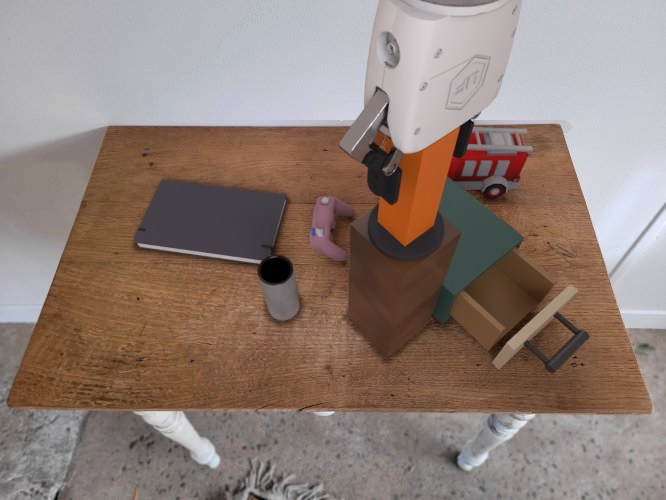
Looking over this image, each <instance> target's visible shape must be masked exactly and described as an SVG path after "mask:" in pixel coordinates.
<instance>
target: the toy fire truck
mask: <svg viewBox="0 0 666 500" xmlns="http://www.w3.org/2000/svg"><path fill="white" fill-rule="evenodd" d="M521 135H528V129H527V128H514V127H513V128H511V127H479V126H474V127H473V130H472V133H471V137H470V140H469V143H468V147H467V150H466V153H465V155H464V156H463V157H461V158H455V157H454V156H453V155H452V159H451V163H450V167H449V170H448V174H447V177H449V178H450V179H451V180H453V181H454V182H455V183H456V184H458V185H459V186H460V187H461V188H463V189H464V190H465V191H471V190H472V191H475V190H477V191H479V190H480V192H481V193H483V196H484V197H485V198H486V199H490V200H491V199H492V200H496V199H498V198H502V196H503V195H504V194H506V193H508V192H509V190H519V188H520V186H521V183H520V180H521V176H520V175H521V174H522V173H521V172H522V171H523V168H524V166H525V165H526V163H527V162H526V161H527V159H528V155H527V152H531V153H532V152H533V151H534V148H533V146H532V145H524V143H523V138H522V136H521Z"/></svg>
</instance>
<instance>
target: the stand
mask: <svg viewBox="0 0 666 500" xmlns="http://www.w3.org/2000/svg"><path fill="white" fill-rule="evenodd" d="M373 209H374V207H373V208H371V209H370V210H367V212H366V213H363V215H361V216H360V217H358V218H357V219H354V220H353V221H352V222H351V223H350V224H349V252H348V253H349V254H348V299H347V300H348V302H347V304H348V305H347V307H348V308H347V317H348V318H349V319H350V321H352V322H353V323H354V325H355V326H357V328H358V329H359V330H360V331H361V332H362V333H363V334H364V335H365V337H366V338H368V340H369V341H370V342H371V343H372V344H373V345H374V347H375V348H377V350H379V352H380V353H381V354H382V355H383V356H384V357H385V358H386V359H388V358H389V357H390V356H392V354H394V353H395V352H396V351H397V350H399V349H400V348H401V347H402V346H404V345H405V344H406V343H407V342H408V341H410V340H411V339H412V338H413V337H415V336H416V335H417V334H418V333H419V332H420V331H422V330H423V329H424V328H425V327H427V326H428V325H429V324H430V323H431V320H432V316H433V315H432V314H433V311H434V308H435V305H436V303H437V300H438V297H439V294H440V292H441V289H442V286H443V283H444V281H445V278H446V275H447V272H448V269H449V267H450V264H451V261H452V258H453V256H454V253H455V250H456V247H457V244H458V242H459V239H460V236H461V233H462V232H461V231H460V230H459V229H458V228H457V227H456V226H454V225H453V224H452V223H451V222H450V221H448V220H447V219H446V218H445V217H444V216H442V215H441V216H442V218H443V221H444V235H443V238H442V241H441V243H440V244H439V246H438V247H437V248H436V249H435V250H434V251H433V252H432V253H430V254H428V255H426V256H424V257H421V258H417V259H399V258H395V257H392V256H390V255H388V254H386V253H384V252H383V251H381V250H380V249H379V248H378V247H377V246H376V245H375V244H374V243H373V241H372V240H371V238H370V235H369V231H368V221H369V216H370V214H371V212H372V210H373Z"/></svg>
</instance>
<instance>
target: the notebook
mask: <svg viewBox="0 0 666 500" xmlns="http://www.w3.org/2000/svg"><path fill="white" fill-rule="evenodd" d="M287 203H288V196H287V194H283V193H276V192H267V191H260V190H251V189H244V188H243V189H242V188H235V187H229V186H228V187H227V186H219V185H210V184H203V183H195V182H187V181H181V180H180V181H179V180H172V179H163V178H162V179H160V182H159V184H158V186H157V188H156V191H155V192H154V193H153V196H152V199H151V201H150V203H149V205H148V207H147V208H146V212H145V213H144V215H143V217H142V220H141V222H140V224H139V226H138V227H137V230H136V232H135V235H134V237H133V242H134V243H136V246H137V248H140V249H145V250H152V251H158V252H164V253H165V252H166V253H173V254H180V255H188V256H193V257H194V256H195V257H202V258H210V259H215V260H223V261H228V262H229V261H231V262H236V263H246V264H252V265H257V266H259V264H260V262H261V261H262V260H263V259H264V258H266V257H268V256H270V255H273V253H274V249H275V246H276V242H277V238H278V235H279V231H280V228H281V224H282V221H283V217H284V214H285V210H286V206H287Z"/></svg>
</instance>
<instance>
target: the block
mask: <svg viewBox="0 0 666 500" xmlns="http://www.w3.org/2000/svg"><path fill="white" fill-rule="evenodd" d="M459 129H460V127H457V128H456V129H454V130H453V131H451V132H450V133H448V134H447V135H445V136H444V137H442V138H440V139H439V140H437V141H436V142H434V143H433V144H431V145H429V146H428V147H426V148H424V149H422V150H420V151H418V152H415V153H410V154H404V156H403V157H402V159H401V161H400V163H399V165H398V166H399V167H400V168H401V169H402V178H401V185H400V191H399V198H398V201H397V202H396V203H395V204H393V205H390V204H389V203H387V202H386V201H385V200H384V199H383V198H382V197H381V196H380V197H379V202H378V204H379V211H378V222H379V223H380V224H381V225H382V226H383V227H384V228H385V229H386V230H387V231H388V232H389V233H391V234H392V235H393V236H394V237H395V238H396V239H397V240H398V241H399V242H400V243H401V244H403V245H404V246H406V245H408V244H409V243H411V242H412V241H413V240H415V239H416V238H417V237H419V236H420V235H421V234H423V233H424V232H425V231H427V230H428V229H429V228H431V227H432V226H433V225H434V222H435V219H436V215H437V211H438V207H439V204H440V200H441V196H442V193H443V189H444V185H445V181H446V178H447V174H448V170H449V167H450V163H451V159H452V155H453V152H454V148H455V144H456V141H457V137H458V133H459ZM384 142H385V144H384V151H385V152H386V153H388V154H389V152H390V150H391V148H392V146H393V142H392V140H391V139H390V138H388V137H387V136H386V135H385V141H384Z"/></svg>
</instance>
